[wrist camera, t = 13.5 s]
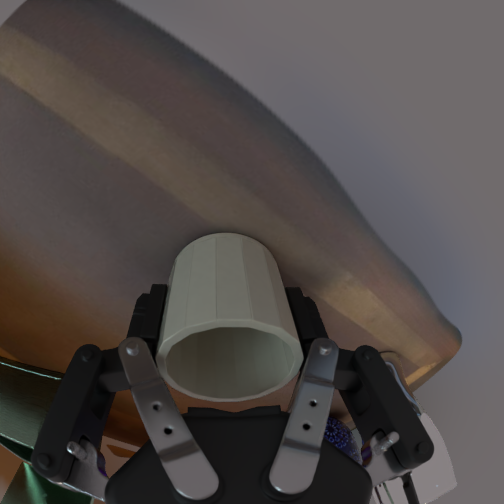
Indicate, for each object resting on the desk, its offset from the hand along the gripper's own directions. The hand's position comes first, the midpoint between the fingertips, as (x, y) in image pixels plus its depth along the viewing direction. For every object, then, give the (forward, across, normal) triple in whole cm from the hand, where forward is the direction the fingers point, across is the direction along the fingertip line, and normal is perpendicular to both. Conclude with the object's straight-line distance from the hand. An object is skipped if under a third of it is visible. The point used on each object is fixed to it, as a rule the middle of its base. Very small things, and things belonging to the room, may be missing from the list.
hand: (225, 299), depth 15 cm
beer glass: (+2, -14, +12) cm, 19 cm away
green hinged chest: (+2, +21, +20) cm, 29 cm away
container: (+2, 0, 0) cm, 2 cm away
